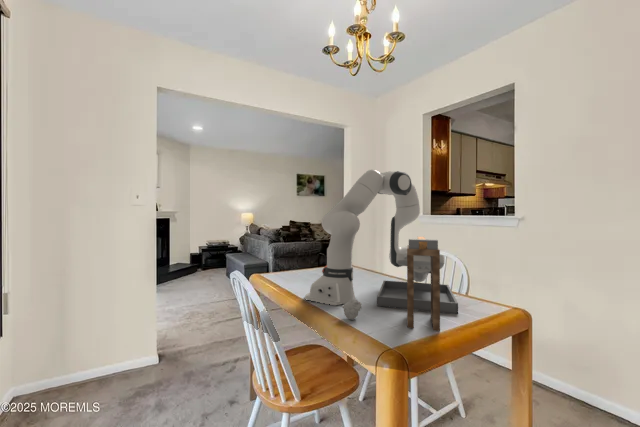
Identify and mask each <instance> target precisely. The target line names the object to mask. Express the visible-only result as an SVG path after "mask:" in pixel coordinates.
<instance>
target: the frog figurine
mask: <svg viewBox="0 0 640 427" xmlns="http://www.w3.org/2000/svg"><path fill="white" fill-rule="evenodd" d="M362 305H363V304H362V303H361V301H359V300H358V299H352V300H351V301H349V302H347V303H345V304H342V306H341V308H342V309H343V313H344V317H346V319H347V320H350V321H351V320H352V321H353V320H355V319H356V318H357V317H358V316H359V311H360V310H361V309H362Z"/></svg>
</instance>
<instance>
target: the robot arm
mask: <svg viewBox="0 0 640 427" xmlns="http://www.w3.org/2000/svg"><path fill="white" fill-rule="evenodd" d="M377 195H386V196H387V195H389V196H393V198H394V199H395V201H394V203H395V208H396V209H395V210H396V211H395V214H394V215H393V217H391V221H390V241H389V242H390V246H389V248H390V249H389V255H388V256H389V257H388V259H389V262H390V263H391V264H392V265H393V266H394V267H395V268H400V267H407V246H408V245H404V246H399V241H400V240H399V239H400V238H399V234H400V231H401V230H402V229H403V228H404V227H405V226H408V225H410V224H412V223H413V222H414V221H415V220H417V219H418V217H419V216H420V213H421V212H420V210H421V208H420V201H419V196H418V192H417V189H416V187H415V185H414V184H413V183H412V179H411V177H410V175H409V174H408V173H407V172H406V171H402V170H397V171H385V172H380V171H378V170H377V169H368V170H367V171H366V172H364V173H363V174H362V175H361V176H360V177H359V178H358V179H357V181H356V182H355V183H354V184H353V185H352V187H351V188H350V189H349V190H348V192H347V193H346V194H345V195H344V196H343V197H342V199H341V200H340V201H338V202H337V203H336V204H335V205H334V206H333V207H332V208H331V209H330V210H329V211H328V212H327V213H326V214H325V215H324V216H322V219H321V226H322V229H323V231H324V232H326V233H327V234H329V235H331V236H330V240H329V244H328V247H327V248H326V265H325V266H324V267H323V268H322V270H321V273H322V276H319V278H317V279H316V280H315V281H313V283H312V284H311V286H310V287H309V288H310V289H309V292H308V293H307V294H305V296H304V300H305V299H307V300H311V301H316V302H315V303H317V302H320V303H319V304H323V303H325V304H324V305H329V304H330V306H338V305H339V306H340V305H344V304H345V303H347V302H349V301H351V300H352V299H356V298H357V297H356V295H355V291H354V283H353V280H354V268H353V246H354V242H355V238H356V235H357V233H358V231H359V230H360V226H361V223H360V219H359V217H358V216H360V215H361V214H362V213H364V212H365V211H366V210H367V208H368V207H369V206H370V204H371V203H372V201H373V200H374V199H375V197H376V196H377ZM444 265H445V256H444V255H443V254H440V270H441V269H442V268H444ZM429 274H431V256H421V255H414V281H415V282H416V283H423V282H424V281H425V280H426V279H427V278H428V276H429ZM356 300H357V299H356ZM311 301H310V302H311Z"/></svg>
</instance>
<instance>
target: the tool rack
mask: <svg viewBox="0 0 640 427" xmlns="http://www.w3.org/2000/svg"><path fill="white" fill-rule="evenodd" d="M406 246H407V266H406V270H407V271H406V274H407V275H406V278H407V279H406V280H407V281H406V282H407V309H406V312H407V313H406V314H407V315H406V316H407V317H406V318H407V320H406V321H407V324H406V325H407V328H410V329H414V328H415V327H414V326H415V322H414V320H415V318H414V317H415V315H414V314H415V310H414V283H415V282H414V255H421V256H431V273H430V284H431V311H430V319H431V326H432V330H433V331H434V332H435V331H437V332H440V331H441V312H440V284H441V277H440V276H441V271H440V270H441V269H440V255H441V253H440V252H441V249H440V248H438V250H430V249H409V244H407V245H406Z"/></svg>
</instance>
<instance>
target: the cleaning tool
mask: <svg viewBox="0 0 640 427" xmlns="http://www.w3.org/2000/svg"><path fill="white" fill-rule="evenodd" d="M408 245H409V249H430V250H438V249H439V240H438V239H426V237H425V236H417V238H408Z"/></svg>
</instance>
